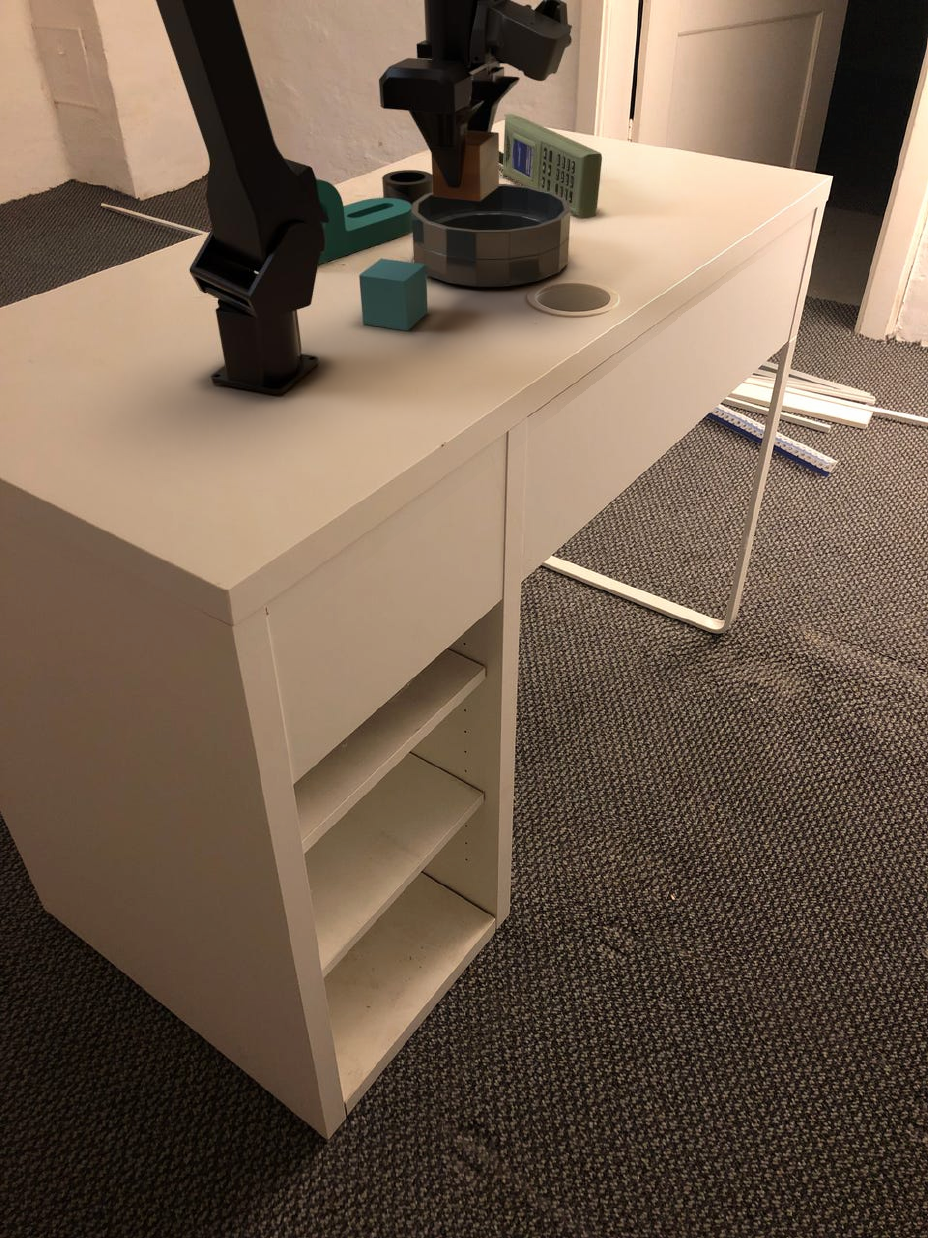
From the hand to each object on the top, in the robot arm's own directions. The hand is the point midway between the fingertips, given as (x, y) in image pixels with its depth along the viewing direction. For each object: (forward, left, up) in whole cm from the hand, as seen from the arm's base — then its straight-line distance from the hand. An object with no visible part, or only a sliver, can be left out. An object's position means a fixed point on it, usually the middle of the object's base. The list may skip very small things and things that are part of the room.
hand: (464, 179), depth 85 cm
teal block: (-6, +4, -11) cm, 13 cm away
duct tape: (+25, +17, -11) cm, 32 cm away
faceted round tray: (+10, +1, -11) cm, 14 cm away
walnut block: (0, 0, -1) cm, 1 cm away
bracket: (+10, +18, -11) cm, 24 cm away
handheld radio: (+36, +5, -11) cm, 38 cm away
